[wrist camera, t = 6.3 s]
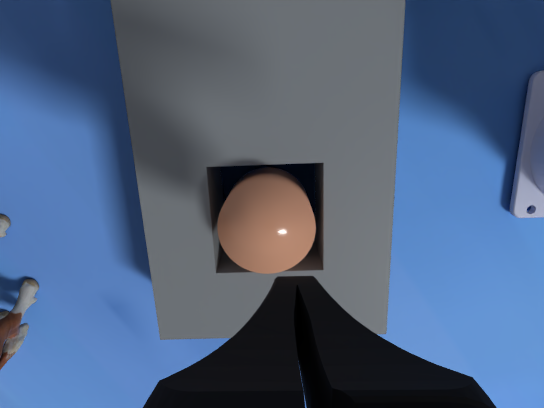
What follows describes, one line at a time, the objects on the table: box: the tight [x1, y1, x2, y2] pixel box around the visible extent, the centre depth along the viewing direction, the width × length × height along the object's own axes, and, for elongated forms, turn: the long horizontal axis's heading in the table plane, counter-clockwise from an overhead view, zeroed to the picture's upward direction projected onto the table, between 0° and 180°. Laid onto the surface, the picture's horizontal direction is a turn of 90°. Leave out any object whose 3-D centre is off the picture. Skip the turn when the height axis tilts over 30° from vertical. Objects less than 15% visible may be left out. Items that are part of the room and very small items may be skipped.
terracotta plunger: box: [217, 167, 316, 274], centre depth 17 cm, size 4×4×4 cm
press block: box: [111, 0, 405, 340], centre depth 17 cm, size 12×26×4 cm, turn 2°
